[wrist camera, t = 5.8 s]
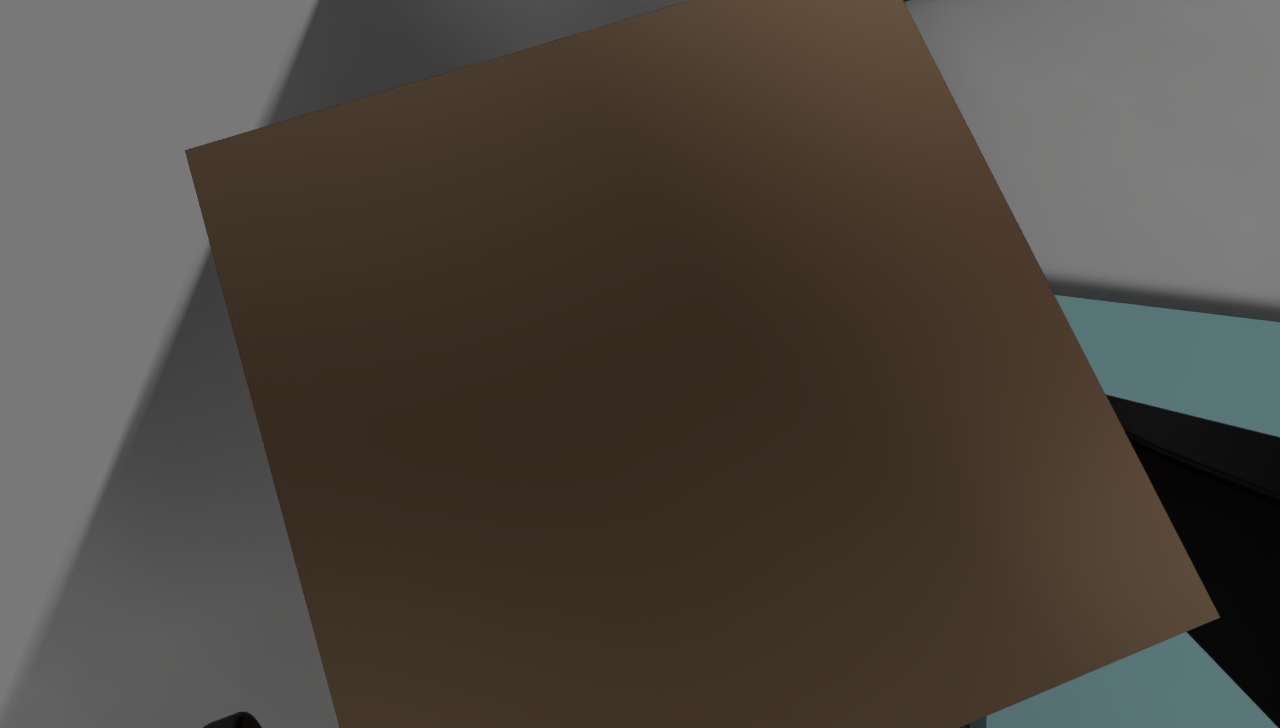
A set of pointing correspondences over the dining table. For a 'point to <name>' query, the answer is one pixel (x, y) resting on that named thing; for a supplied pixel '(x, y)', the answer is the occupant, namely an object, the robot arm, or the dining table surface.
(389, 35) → the dining table surface
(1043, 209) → the dining table surface
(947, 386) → the walnut brick
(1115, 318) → the teal mat
